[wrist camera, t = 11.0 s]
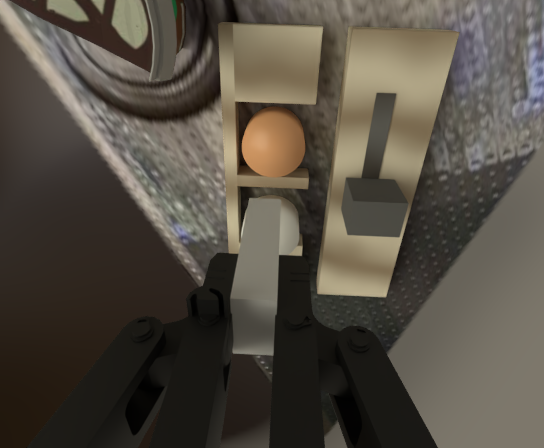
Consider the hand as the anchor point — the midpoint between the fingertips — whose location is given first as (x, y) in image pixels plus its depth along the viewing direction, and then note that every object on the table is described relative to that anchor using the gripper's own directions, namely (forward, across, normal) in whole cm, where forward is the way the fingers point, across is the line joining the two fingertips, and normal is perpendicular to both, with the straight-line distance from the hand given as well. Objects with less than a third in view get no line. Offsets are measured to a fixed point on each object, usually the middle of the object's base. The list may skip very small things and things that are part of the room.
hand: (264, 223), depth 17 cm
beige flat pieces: (+14, +4, -4) cm, 16 cm away
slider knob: (+12, +8, -5) cm, 15 cm away
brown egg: (+14, 0, 0) cm, 14 cm away
